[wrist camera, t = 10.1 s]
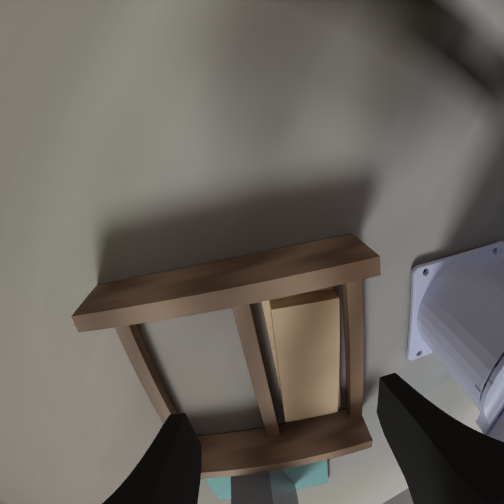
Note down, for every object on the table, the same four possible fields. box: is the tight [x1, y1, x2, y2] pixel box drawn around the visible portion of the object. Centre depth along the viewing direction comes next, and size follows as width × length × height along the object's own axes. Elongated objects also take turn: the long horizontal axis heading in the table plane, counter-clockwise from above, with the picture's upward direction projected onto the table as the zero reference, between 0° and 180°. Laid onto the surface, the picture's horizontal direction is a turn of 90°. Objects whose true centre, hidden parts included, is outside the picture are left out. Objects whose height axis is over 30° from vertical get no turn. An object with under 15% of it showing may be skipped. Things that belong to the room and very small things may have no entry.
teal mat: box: [205, 460, 328, 499], centre depth 26 cm, size 12×9×1 cm
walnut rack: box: [71, 233, 381, 479], centre depth 19 cm, size 16×16×4 cm
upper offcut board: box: [269, 289, 340, 422], centre depth 20 cm, size 4×10×1 cm, turn 8°
